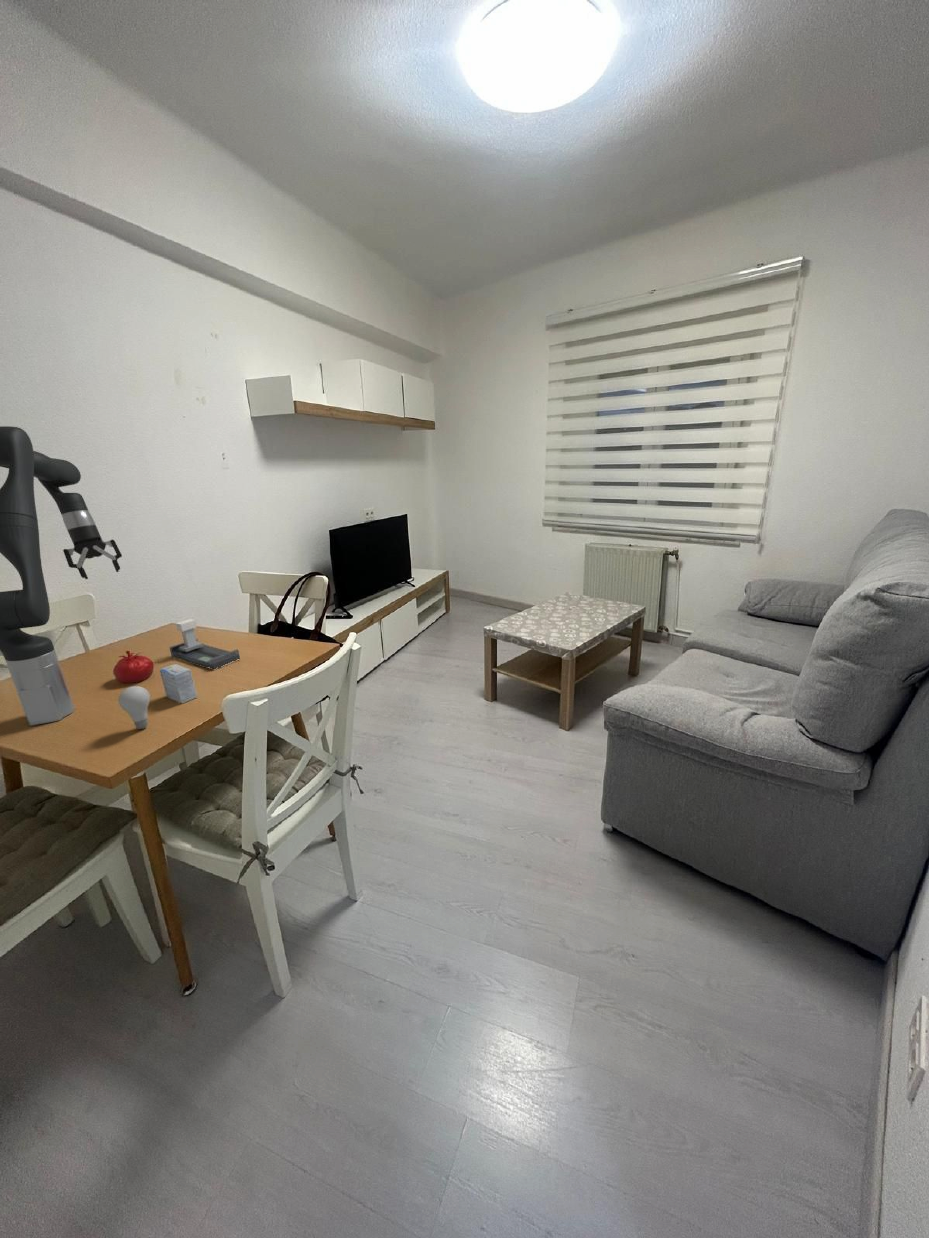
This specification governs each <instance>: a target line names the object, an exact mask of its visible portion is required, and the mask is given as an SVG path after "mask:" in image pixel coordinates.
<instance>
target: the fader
mask: <svg viewBox="0 0 929 1238" xmlns="http://www.w3.org/2000/svg"><path fill="white" fill-rule="evenodd" d="M175 626H176V631H179V632H181V634H182V635H181V636H182V639H183V643H184V644H185V645H184V646H181V647H179V650H181V651H185V652H188V651H191V650H194V649H197V648H199V647H202V646H204V645H205V643H203V642H199V641H198V642H197V641H196V639H197V636H196V632H195V628H198V625H197V620H196V619H192V618H189V619H186V620H182V621H179V622H175Z"/></svg>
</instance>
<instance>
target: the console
mask: <svg viewBox="0 0 929 1238" xmlns="http://www.w3.org/2000/svg"><path fill="white" fill-rule="evenodd" d="M198 640H199V639H197V638H196V641H197V642H199V641H198ZM184 645H185V644H184V642H180V643H177V644H174V645H172V646H169V647H168V649H169V651H170V655H171V658H174V657H175V658H174V659H178V660H180V661H185V662H188V663H190V662H191V664H193V663H194V664H193V665H196V664H198V665H197V666H200V665H201V666H200V667H203V666H204V667H203V668H206V667H210V668H212V669H216V668H217V667H221V666H223V665H225V664H228V663H230V662H232V661H236V660H237V659H240V660H241V657H240V651H239V649H238V648H237V649H234V650H231V651H229V650H225V649H221V648H218V647H214V646H210V645H208V644H207V645H206V644H204V646H202V647H199V648H197V649H194V650H191V651H188V652H185V651H181V650H179V647H181V646H184ZM236 662H237V661H236ZM223 667H224V666H223ZM221 668H222V667H221ZM212 669H211V670H212ZM216 670H217V669H216Z"/></svg>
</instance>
